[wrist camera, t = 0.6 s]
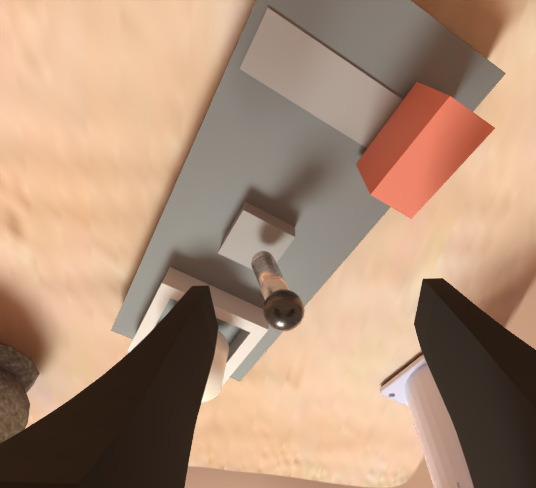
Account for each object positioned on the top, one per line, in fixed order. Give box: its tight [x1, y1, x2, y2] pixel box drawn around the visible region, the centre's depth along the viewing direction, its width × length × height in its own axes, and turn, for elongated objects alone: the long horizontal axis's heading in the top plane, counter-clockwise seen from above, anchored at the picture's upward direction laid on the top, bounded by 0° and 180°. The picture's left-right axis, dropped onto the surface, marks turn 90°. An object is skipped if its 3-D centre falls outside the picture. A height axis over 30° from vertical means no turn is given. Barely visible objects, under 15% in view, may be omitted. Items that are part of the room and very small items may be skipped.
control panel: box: [111, 0, 506, 386], centre depth 19 cm, size 10×24×4 cm, turn 151°
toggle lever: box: [251, 251, 304, 331], centre depth 16 cm, size 2×2×4 cm
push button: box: [201, 330, 229, 403], centre depth 20 cm, size 4×4×2 cm
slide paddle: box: [356, 82, 495, 219], centre depth 13 cm, size 2×4×3 cm, turn 151°
